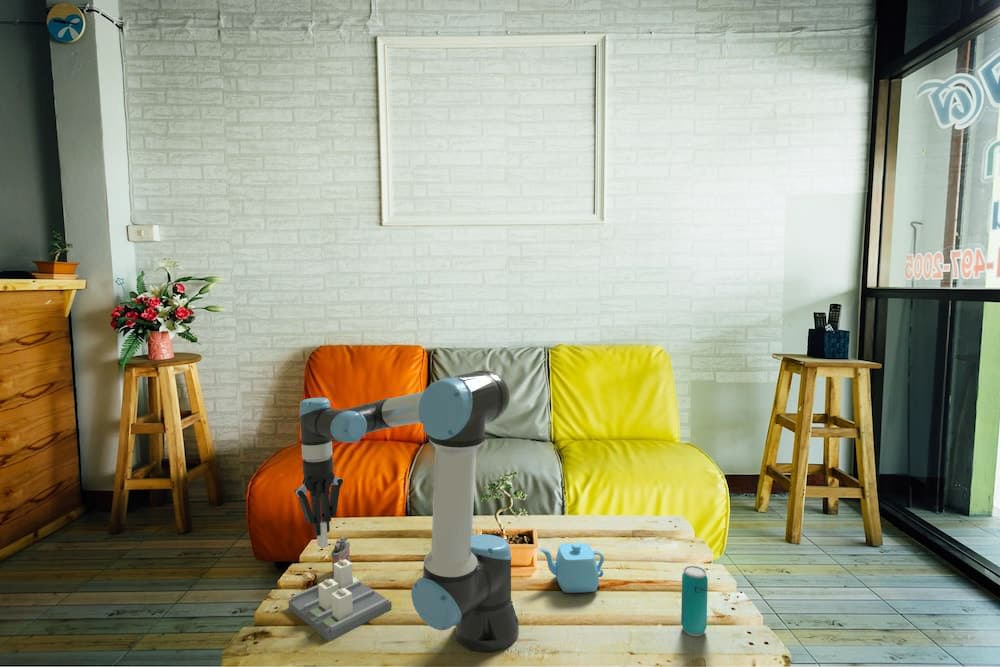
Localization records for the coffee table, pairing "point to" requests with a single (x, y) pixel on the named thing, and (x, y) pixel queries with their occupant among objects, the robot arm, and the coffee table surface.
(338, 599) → the white hollow block
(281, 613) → the coffee table surface
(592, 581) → the teapot
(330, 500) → the robot arm
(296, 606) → the grey slotted block holder
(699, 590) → the beverage can
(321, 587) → the white rectangular block
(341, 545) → the lighter
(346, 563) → the white hollow block
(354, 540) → the coffee table surface
